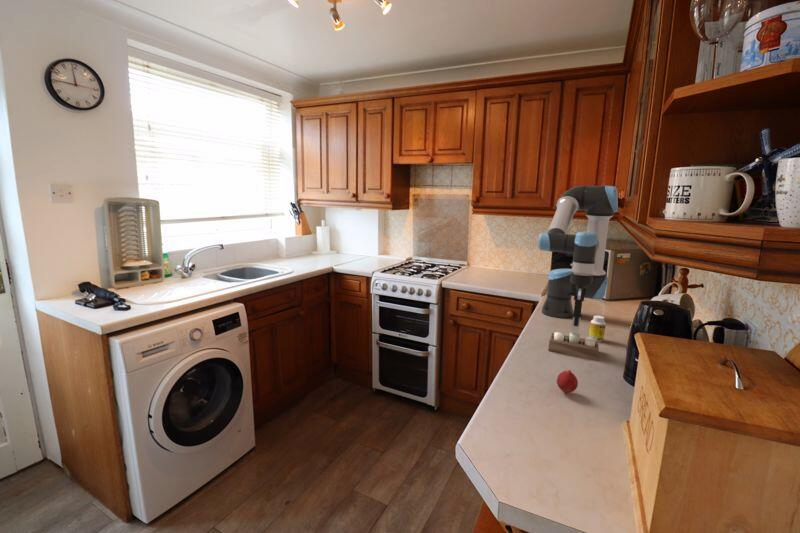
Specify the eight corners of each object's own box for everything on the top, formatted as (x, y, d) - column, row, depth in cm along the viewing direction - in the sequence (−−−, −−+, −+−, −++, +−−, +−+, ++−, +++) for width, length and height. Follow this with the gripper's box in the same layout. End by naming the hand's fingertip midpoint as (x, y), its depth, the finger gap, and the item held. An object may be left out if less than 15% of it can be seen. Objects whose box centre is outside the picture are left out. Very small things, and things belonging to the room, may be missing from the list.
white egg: (583, 349, 147) (585, 336, 146) (593, 351, 146) (595, 338, 145) (583, 352, 144) (585, 339, 143) (593, 354, 143) (595, 341, 142)
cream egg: (553, 343, 152) (554, 331, 151) (563, 345, 151) (564, 333, 150) (552, 346, 149) (553, 334, 148) (562, 348, 148) (563, 335, 147)
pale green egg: (568, 344, 150) (570, 331, 149) (578, 345, 148) (580, 333, 147) (568, 347, 147) (569, 334, 146) (578, 349, 145) (579, 335, 144)
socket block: (551, 342, 156) (552, 333, 155) (597, 350, 148) (598, 341, 148) (548, 350, 147) (549, 341, 146) (597, 360, 140) (598, 350, 139)
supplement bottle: (598, 343, 156) (601, 319, 154) (585, 339, 161) (588, 316, 159) (606, 340, 159) (609, 317, 157) (593, 336, 164) (596, 314, 162)
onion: (551, 391, 116) (554, 367, 114) (562, 386, 119) (565, 363, 118) (569, 400, 111) (572, 375, 110) (580, 394, 115) (583, 370, 113)
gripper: (572, 269, 149) (565, 326, 154) (570, 275, 138) (563, 336, 142) (593, 271, 146) (586, 329, 150) (593, 277, 134) (585, 340, 139)
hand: (574, 333), depth 146 cm, fingers closed
